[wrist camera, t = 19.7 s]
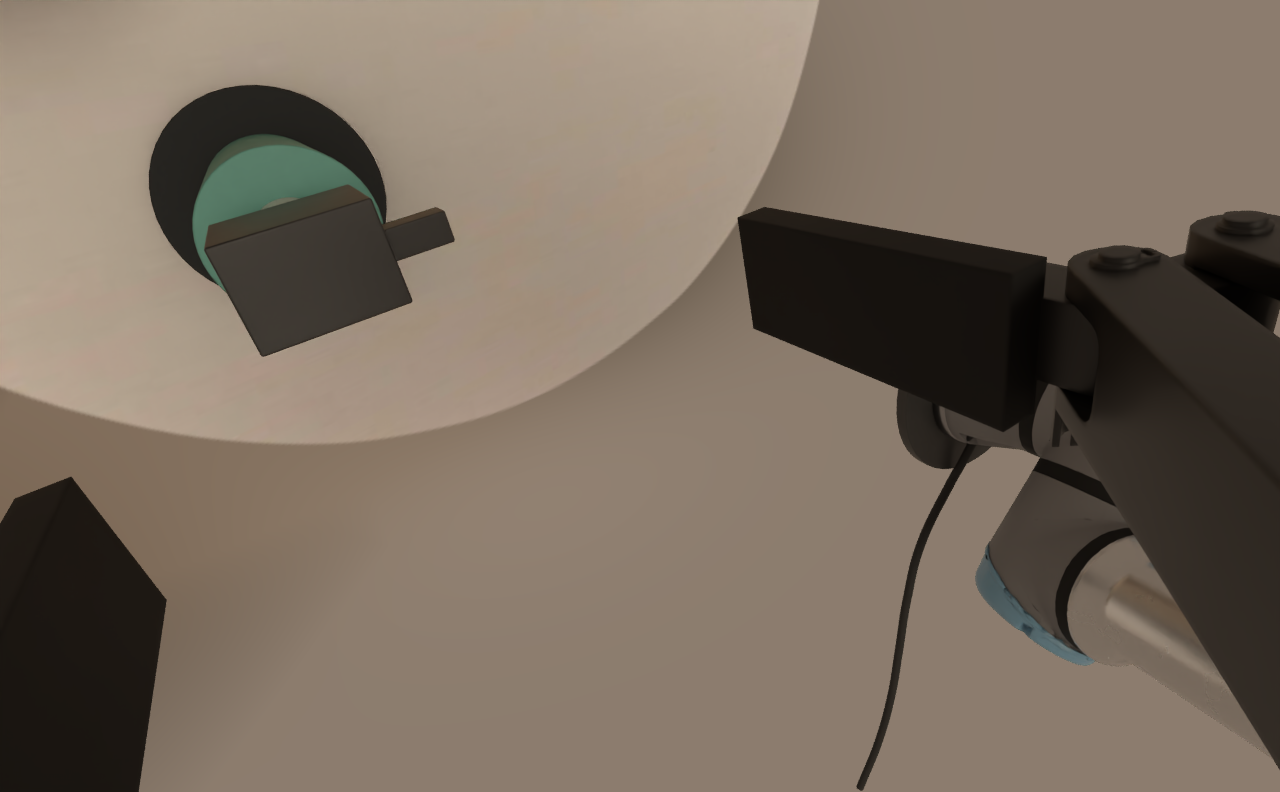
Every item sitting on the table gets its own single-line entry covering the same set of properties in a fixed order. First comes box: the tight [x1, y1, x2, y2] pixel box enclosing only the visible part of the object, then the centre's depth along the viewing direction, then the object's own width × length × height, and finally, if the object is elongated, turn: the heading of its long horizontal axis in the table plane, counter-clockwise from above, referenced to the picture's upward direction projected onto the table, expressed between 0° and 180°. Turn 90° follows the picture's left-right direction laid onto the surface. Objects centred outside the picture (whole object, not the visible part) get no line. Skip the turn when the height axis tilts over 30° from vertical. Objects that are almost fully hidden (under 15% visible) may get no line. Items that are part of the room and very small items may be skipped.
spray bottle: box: [193, 134, 455, 357], centre depth 27 cm, size 7×6×21 cm
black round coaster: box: [149, 85, 387, 285], centre depth 36 cm, size 11×11×1 cm
